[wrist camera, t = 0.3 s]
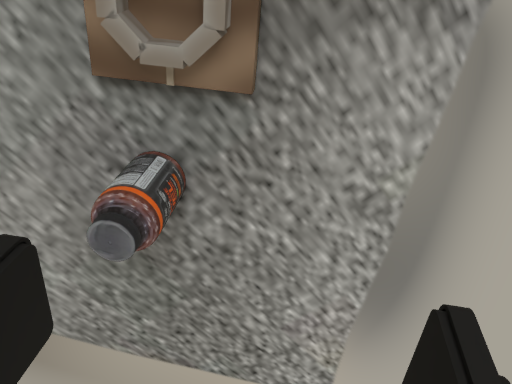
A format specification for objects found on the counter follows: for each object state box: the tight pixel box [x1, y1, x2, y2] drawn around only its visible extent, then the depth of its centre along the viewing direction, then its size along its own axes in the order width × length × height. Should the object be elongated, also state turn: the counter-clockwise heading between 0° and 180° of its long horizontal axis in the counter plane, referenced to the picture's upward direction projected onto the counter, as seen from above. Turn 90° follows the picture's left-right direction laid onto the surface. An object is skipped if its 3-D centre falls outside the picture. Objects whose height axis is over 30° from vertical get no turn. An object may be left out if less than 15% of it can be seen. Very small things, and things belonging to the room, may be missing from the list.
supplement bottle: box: [87, 151, 186, 261], centre depth 38 cm, size 6×6×11 cm
